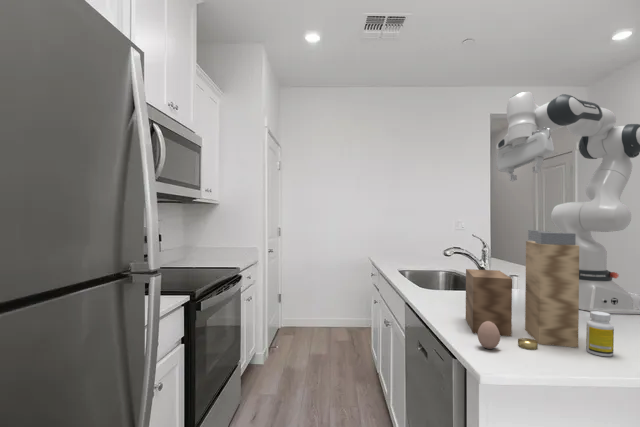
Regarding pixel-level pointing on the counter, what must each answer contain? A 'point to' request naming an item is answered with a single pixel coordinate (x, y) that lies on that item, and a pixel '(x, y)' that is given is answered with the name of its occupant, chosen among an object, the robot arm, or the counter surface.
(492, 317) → the walnut block
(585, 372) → the counter surface
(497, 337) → the egg
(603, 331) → the supplement bottle
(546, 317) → the oak shelf block
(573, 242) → the hook bar
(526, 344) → the brass disc
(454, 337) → the counter surface
